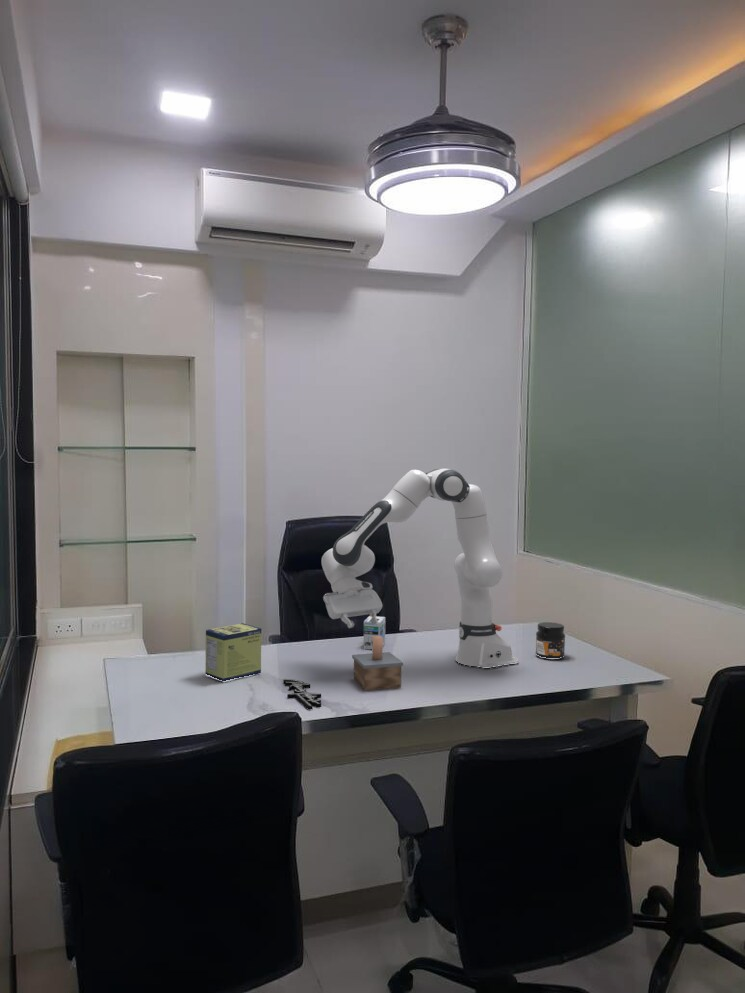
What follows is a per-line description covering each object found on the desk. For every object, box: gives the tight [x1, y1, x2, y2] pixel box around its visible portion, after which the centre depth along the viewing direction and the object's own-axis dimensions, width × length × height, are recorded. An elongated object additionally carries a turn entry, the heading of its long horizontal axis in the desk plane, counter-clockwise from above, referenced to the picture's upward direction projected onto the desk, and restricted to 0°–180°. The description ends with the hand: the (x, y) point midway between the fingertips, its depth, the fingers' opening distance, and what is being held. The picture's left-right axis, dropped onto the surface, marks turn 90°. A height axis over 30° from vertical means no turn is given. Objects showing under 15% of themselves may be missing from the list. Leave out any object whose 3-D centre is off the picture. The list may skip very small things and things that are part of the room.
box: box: [353, 659, 402, 691], centre depth 244 cm, size 12×12×7 cm
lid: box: [351, 636, 404, 669], centre depth 243 cm, size 13×13×10 cm
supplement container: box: [535, 621, 566, 658], centre depth 279 cm, size 10×10×12 cm
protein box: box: [205, 622, 262, 681], centre depth 250 cm, size 10×16×16 cm
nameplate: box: [283, 678, 322, 710], centre depth 231 cm, size 27×2×10 cm
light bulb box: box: [363, 615, 386, 651], centre depth 290 cm, size 11×7×11 cm, turn 168°
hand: (363, 625), depth 249 cm, fingers open, 8 cm apart
